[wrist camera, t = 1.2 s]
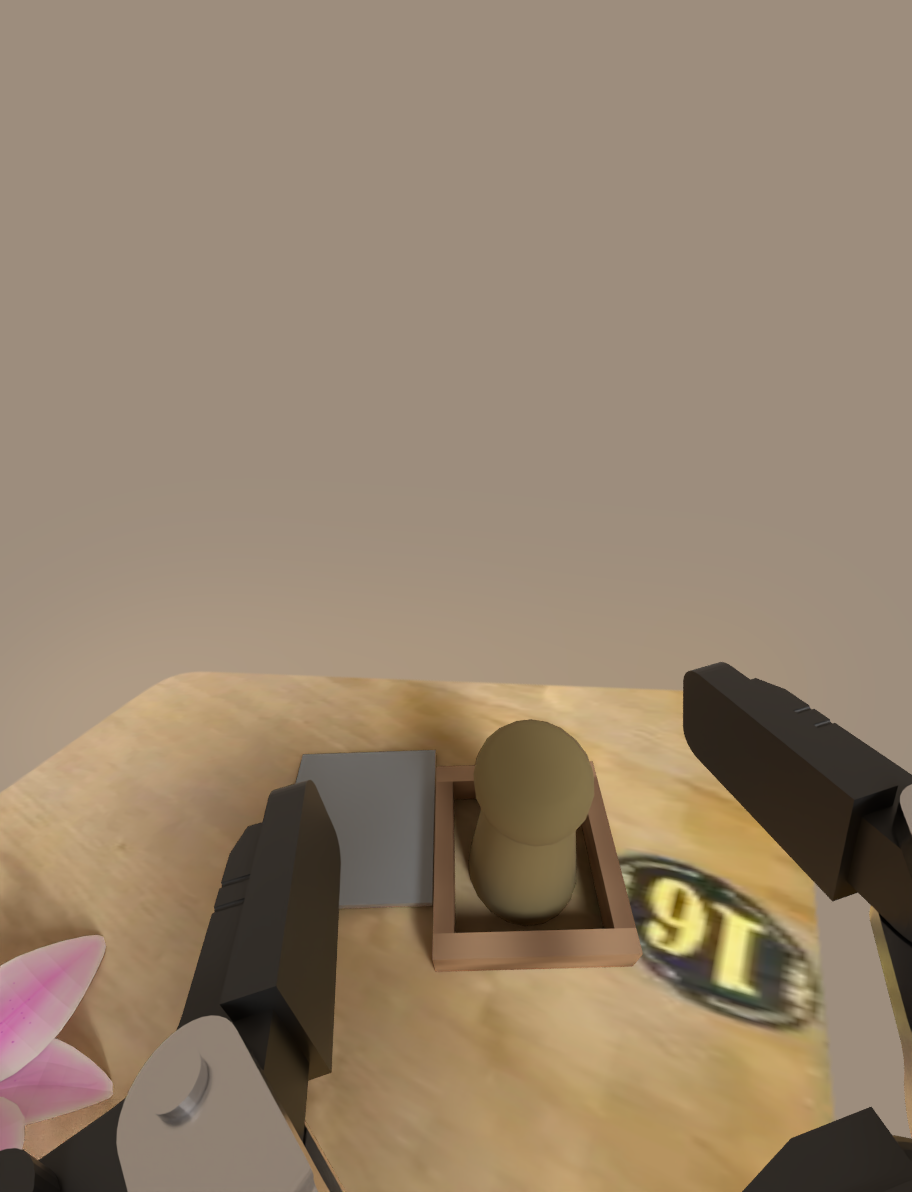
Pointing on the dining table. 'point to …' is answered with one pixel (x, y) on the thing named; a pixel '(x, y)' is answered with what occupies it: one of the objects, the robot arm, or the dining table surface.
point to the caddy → (529, 947)
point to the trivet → (380, 823)
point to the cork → (529, 820)
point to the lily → (45, 1036)
